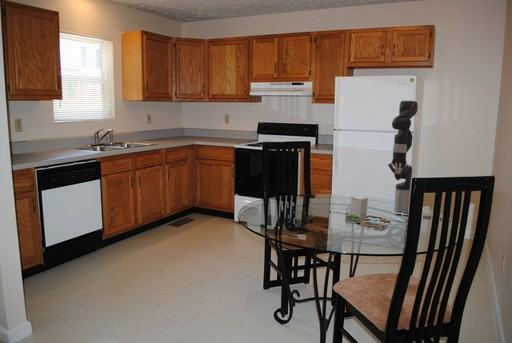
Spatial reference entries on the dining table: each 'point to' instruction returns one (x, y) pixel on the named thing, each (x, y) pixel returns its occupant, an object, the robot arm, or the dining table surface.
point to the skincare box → (358, 208)
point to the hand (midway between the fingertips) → (398, 179)
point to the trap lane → (363, 223)
